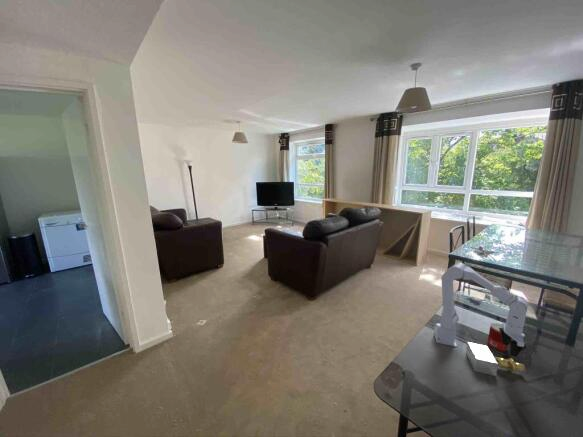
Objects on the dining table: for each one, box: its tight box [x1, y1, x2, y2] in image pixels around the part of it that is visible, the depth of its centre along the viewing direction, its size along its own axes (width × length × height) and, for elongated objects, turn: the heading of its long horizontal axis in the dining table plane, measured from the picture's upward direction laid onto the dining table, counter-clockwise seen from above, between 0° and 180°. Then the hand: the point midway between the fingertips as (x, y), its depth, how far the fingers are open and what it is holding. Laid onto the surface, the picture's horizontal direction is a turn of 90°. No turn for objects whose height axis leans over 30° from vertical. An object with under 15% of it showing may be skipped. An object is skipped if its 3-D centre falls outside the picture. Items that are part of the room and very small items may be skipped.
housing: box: [465, 341, 499, 377], centre depth 112 cm, size 8×12×6 cm, turn 159°
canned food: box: [487, 322, 509, 352], centre depth 123 cm, size 8×8×11 cm
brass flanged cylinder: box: [494, 356, 526, 373], centre depth 108 cm, size 10×6×6 cm, turn 69°
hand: (509, 349), depth 108 cm, fingers open, 7 cm apart
